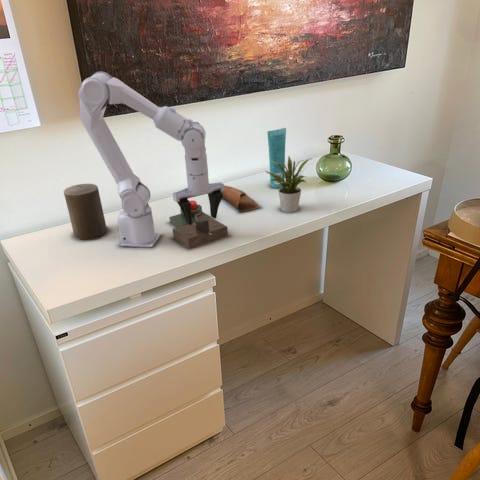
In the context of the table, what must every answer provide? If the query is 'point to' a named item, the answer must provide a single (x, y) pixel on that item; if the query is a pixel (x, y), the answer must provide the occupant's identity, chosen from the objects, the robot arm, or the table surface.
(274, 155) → the tube
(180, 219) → the button box
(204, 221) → the dark grey red block
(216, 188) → the robot arm
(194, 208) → the button
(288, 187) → the house plant
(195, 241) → the console
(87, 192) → the pillar candle
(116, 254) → the table surface
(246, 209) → the sunglasses case
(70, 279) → the table surface
